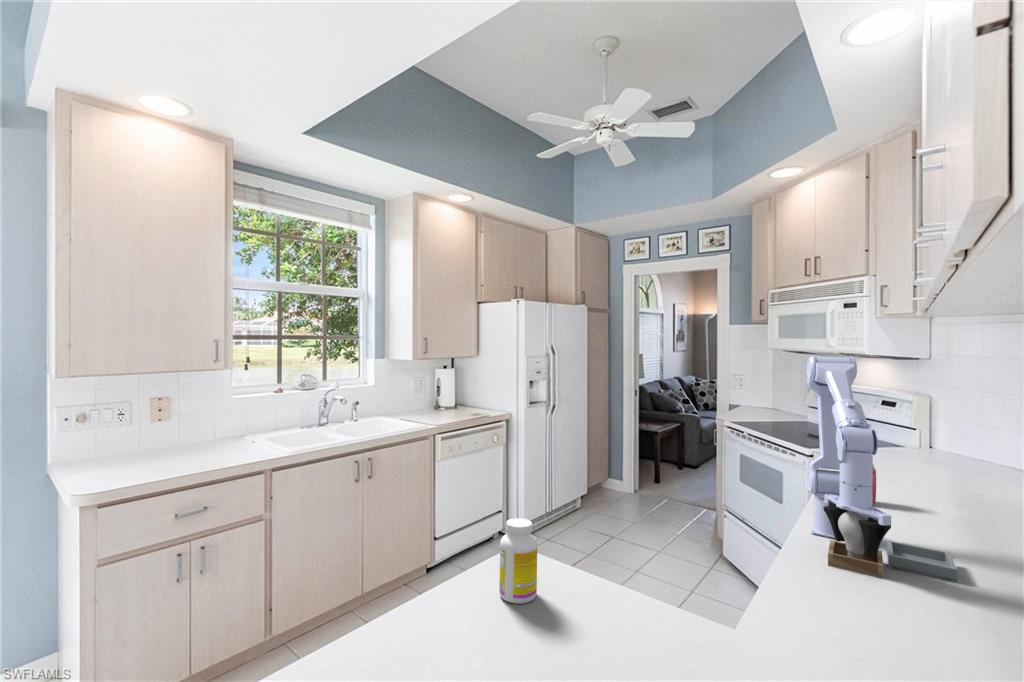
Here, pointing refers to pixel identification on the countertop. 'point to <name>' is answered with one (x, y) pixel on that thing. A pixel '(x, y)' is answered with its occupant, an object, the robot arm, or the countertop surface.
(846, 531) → the lightbulb
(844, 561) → the holder collar
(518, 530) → the supplement bottle
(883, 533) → the robot arm
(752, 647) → the countertop surface
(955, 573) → the parts tray
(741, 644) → the countertop surface
